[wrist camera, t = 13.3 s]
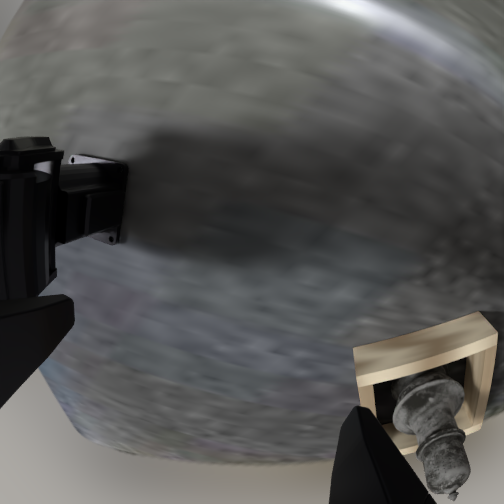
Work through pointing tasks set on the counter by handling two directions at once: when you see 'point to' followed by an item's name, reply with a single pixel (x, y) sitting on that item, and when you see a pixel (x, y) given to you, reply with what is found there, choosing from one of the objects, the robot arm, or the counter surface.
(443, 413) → the dark grey tall piece
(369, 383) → the birch holder
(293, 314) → the counter surface
